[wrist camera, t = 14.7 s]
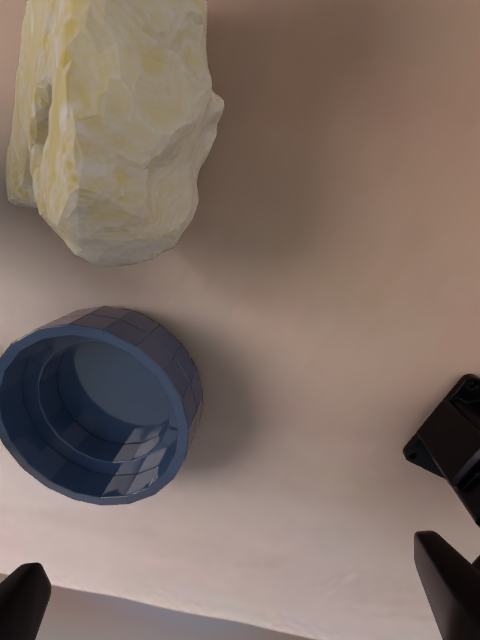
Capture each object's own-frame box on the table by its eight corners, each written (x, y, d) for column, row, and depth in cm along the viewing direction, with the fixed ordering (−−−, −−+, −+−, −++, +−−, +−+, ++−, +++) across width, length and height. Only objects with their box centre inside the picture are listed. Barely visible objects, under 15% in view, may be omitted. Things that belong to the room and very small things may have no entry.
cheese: (142, 291, 21) (354, 242, 10) (5, 285, 16) (123, 178, 5) (135, 62, 22) (334, -233, 10) (-2, -11, 17) (96, -716, 6)
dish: (232, 355, 20) (222, 387, 16) (166, 482, 23) (144, 533, 20) (65, 273, 19) (14, 286, 16) (22, 414, 23) (-28, 453, 19)
